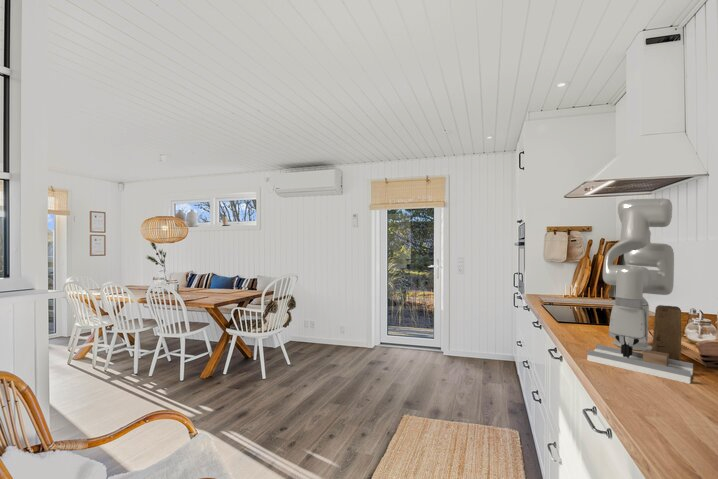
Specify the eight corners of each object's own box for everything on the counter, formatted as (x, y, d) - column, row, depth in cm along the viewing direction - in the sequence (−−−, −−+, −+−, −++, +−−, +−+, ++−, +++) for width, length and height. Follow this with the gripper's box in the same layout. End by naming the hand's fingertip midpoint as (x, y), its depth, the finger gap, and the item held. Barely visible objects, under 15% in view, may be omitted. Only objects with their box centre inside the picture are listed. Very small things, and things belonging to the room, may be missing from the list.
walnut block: (645, 361, 125) (645, 349, 125) (668, 366, 121) (668, 353, 121) (642, 364, 122) (643, 352, 122) (666, 369, 117) (666, 357, 117)
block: (680, 369, 124) (683, 310, 124) (652, 364, 129) (654, 306, 128) (678, 361, 132) (680, 305, 132) (652, 356, 137) (654, 303, 137)
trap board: (596, 353, 139) (596, 344, 139) (692, 374, 120) (693, 363, 120) (587, 360, 130) (587, 350, 130) (689, 383, 111) (690, 372, 111)
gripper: (657, 305, 125) (655, 359, 125) (605, 299, 135) (603, 349, 135) (654, 308, 119) (652, 364, 119) (600, 301, 130) (598, 353, 130)
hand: (626, 356), depth 127 cm, fingers closed
